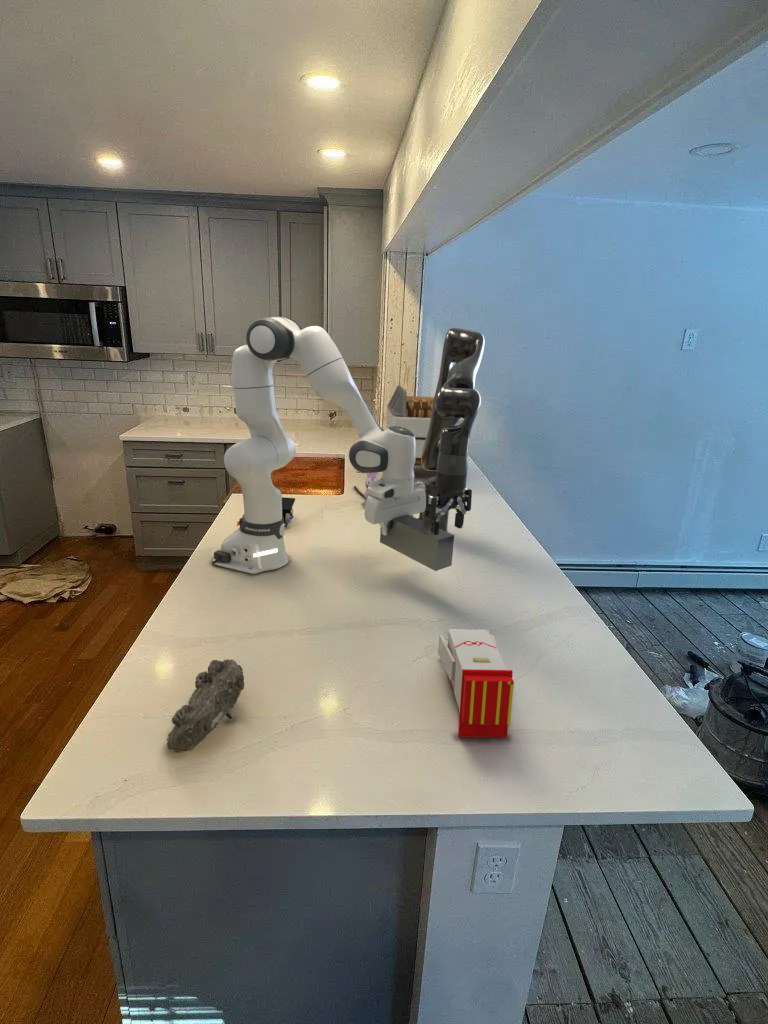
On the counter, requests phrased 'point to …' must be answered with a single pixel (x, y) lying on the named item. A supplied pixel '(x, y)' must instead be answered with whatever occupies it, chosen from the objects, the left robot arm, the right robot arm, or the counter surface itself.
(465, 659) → the toy
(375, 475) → the figurine
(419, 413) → the grey crate
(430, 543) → the box
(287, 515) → the figurine character
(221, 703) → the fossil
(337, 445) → the counter surface
